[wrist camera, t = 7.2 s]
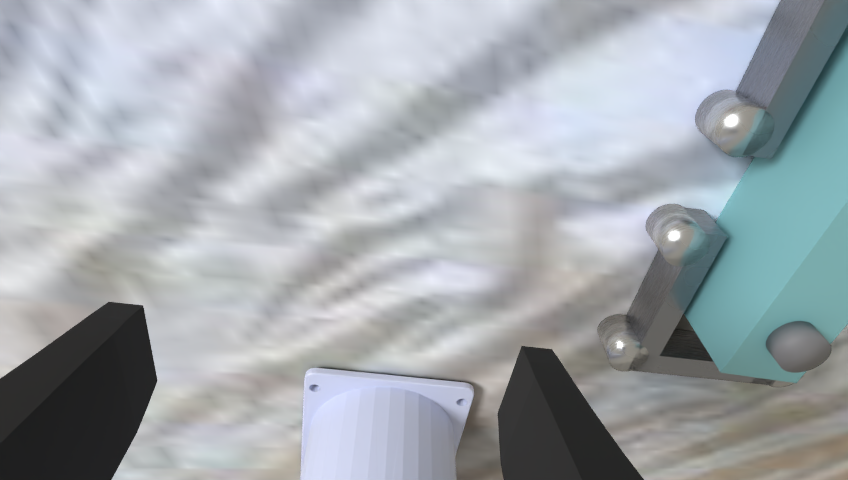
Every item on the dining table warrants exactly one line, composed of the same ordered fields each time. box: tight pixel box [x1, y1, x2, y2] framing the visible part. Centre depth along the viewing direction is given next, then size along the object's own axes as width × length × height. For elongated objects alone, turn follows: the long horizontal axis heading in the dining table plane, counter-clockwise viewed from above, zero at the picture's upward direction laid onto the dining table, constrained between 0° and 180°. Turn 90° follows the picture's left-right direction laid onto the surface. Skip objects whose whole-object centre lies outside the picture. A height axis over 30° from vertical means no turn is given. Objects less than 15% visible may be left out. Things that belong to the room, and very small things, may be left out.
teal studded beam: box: [684, 25, 848, 383], centre depth 17 cm, size 12×3×5 cm, turn 169°
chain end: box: [598, 204, 802, 387], centre depth 21 cm, size 7×9×2 cm
